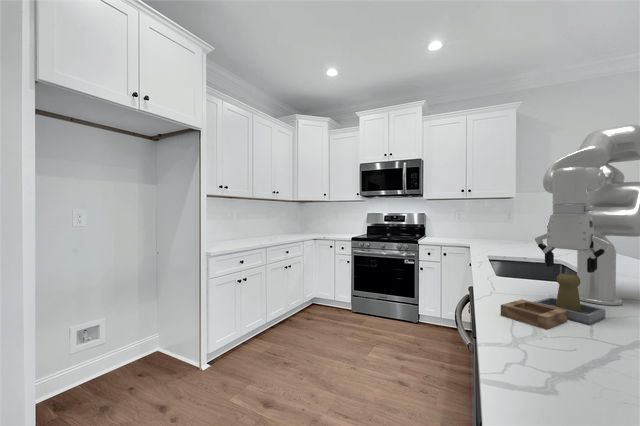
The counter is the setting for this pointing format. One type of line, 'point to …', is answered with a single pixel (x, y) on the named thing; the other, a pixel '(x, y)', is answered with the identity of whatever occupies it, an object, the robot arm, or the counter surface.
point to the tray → (586, 317)
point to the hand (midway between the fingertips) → (569, 268)
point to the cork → (568, 292)
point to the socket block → (534, 313)
